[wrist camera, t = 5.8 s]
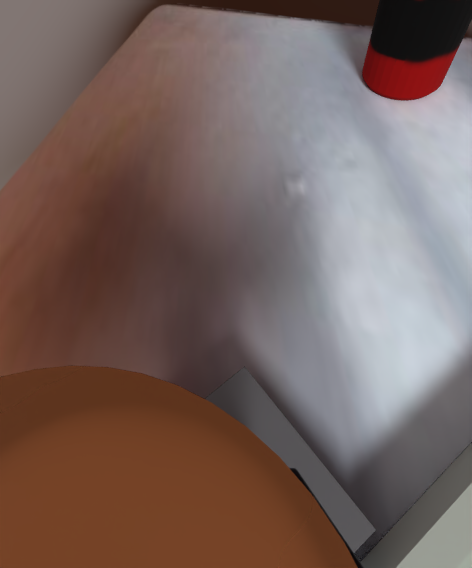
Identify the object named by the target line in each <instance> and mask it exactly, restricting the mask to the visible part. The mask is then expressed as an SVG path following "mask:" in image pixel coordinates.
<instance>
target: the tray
mask: <svg viewBox="0 0 472 568" xmlns="http://www.w3.org/2000/svg"><path fill="white" fill-rule="evenodd" d="M360 563H361V564H362V566H363V567H364V568H472V442H471V443H470V444H469V446H468V447H467V448H466V449H465V450H464V451H463V452H462V453H461V454H460V455H459V456H458V457H457V458H456V460H455V461H454V462H453V463H452V464H451V465H450V466H449V467H448V468H447V469H446V470H445V471H444V472H443V474H442V475H441V476H440V477H439V478H438V479H437V480H436V481H435V482H434V483H433V484H432V485H431V486H430V488H429V489H428V490H427V491H426V492H425V493H424V494H423V495H422V496H421V497H420V498H419V499H418V500H417V502H416V503H415V504H414V505H413V506H412V507H411V508H410V509H409V510H408V511H407V512H406V513H405V514H404V516H403V517H402V518H401V519H400V520H399V521H398V522H397V523H396V524H395V525H394V526H393V527H392V528H391V530H390V531H389V532H388V533H387V534H386V535H385V536H384V537H383V538H382V539H381V540H380V541H379V542H378V544H377V545H376V546H375V547H374V548H373V549H372V550H371V551H370V552H369V553H368V554H367V555H366V556H365V558H364V559H363V560H362V561H361V562H360Z"/></svg>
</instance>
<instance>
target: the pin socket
mask: <svg viewBox="0 0 472 568" xmlns="http://www.w3.org/2000/svg"><path fill="white" fill-rule="evenodd" d="M205 399H206V400H208V401H209V402H211V403H213V404H214V405H216V406H217V407H219V408H220V409H222V410H223V411H225V412H226V413H227V414H229V415H230V416H232V417H233V418H235V419H236V420H238V421H239V422H240V423H242V424H243V425H245V426H246V427H247V428H248V429H249V430H251V431H252V432H253V433H254V434H255V435H256V436H257V437H258V438H259V439H260V440H262V441H263V442H264V443H265V444H266V445H267V446H268V447H269V448H270V449H271V450H272V451H274V452H275V453H276V454H277V455H278V456H279V457H280V458H281V459H282V460H283V462H284V463H285V464H286V465H287V466H288V467H289V468H295V469H297V470H298V471H299V473H300V474H301V476H302V477H303V479H304V480H305V482H306V483H307V485H308V486H309V488H310V489H311V491H312V492H313V493H314V495H315V496H316V498H317V499H318V501H319V502H320V504H321V505H322V507H323V508H324V510H325V511H326V513H327V514H328V516H329V517H330V518H331V520H332V521H333V523H334V524H335V526H336V527H337V529H338V530H339V532H340V533H341V535H342V536H343V538H344V539H345V541H346V542H347V544H348V545H349V546H350V548H351V549H352V551H353V552H354V553H355V552H356V551H357V550H358V548H359V547H360V546H361V545H362V544H363V543H364V542H365V541H366V540H367V539H368V538H369V537H370V536H371V535H372V534H373V533H374V531H375V530H376V529H375V528H374V527H373V526H372V524H371V523H370V522H369V521H368V519H367V518H366V517H365V516H364V514H363V513H362V512H361V511H360V509H359V508H358V507H357V506H356V504H355V503H354V502H353V501H352V499H351V498H350V497H349V496H348V494H347V493H346V492H345V491H344V489H343V488H342V487H341V486H340V484H339V483H338V482H337V481H336V480H335V478H334V477H333V476H332V475H331V473H330V472H329V471H328V470H327V468H326V467H325V466H324V465H323V463H322V462H321V461H320V460H319V458H318V457H317V456H316V455H315V453H314V452H313V451H312V450H311V448H310V447H309V446H308V445H307V443H306V442H305V441H304V440H303V438H302V437H301V436H300V435H299V434H298V432H297V431H296V430H295V429H294V427H293V426H292V425H291V424H290V422H289V421H288V420H287V419H286V417H285V416H284V415H283V414H282V412H281V411H280V410H279V409H278V407H277V406H276V405H275V404H274V402H273V401H272V400H271V399H270V397H269V396H268V395H267V394H266V392H265V391H264V390H263V389H262V388H261V386H260V385H259V384H258V383H257V381H256V380H255V379H254V378H253V376H252V375H251V374H250V373H249V371H248V370H247V369H246V368H245V367H243V368H242V369H241V370H240V371H238V372H237V373H236V374H235V375H233V376H232V377H231V378H230V379H229V380H227V381H226V382H225V383H224V384H222V385H221V386H220V387H219V388H217V389H216V390H215V391H214V392H212V393H211V394H210V395H209V396H207V397H206V398H205Z"/></svg>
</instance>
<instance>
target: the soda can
mask: <svg viewBox="0 0 472 568" xmlns="http://www.w3.org/2000/svg"><path fill="white" fill-rule="evenodd" d="M471 20H472V0H380V1H379V5H378V9H377V14H376V18H375V22H374V26H373V30H372V34H371V38H370V42H369V46H368V50H367V54H366V58H365V62H364V66H363V70H362V75H363V78H364V80H365V82H366V84H367V85H368V87H369V88H370V89H371V90H372V91H374V92H375V93H377V94H378V95H381V96H383V97H386V98H389V99H394V100H415V99H419V98H422V97H425V96H427V95H429V94H430V93H432V92H434V91H435V90H437V89H438V88H439V87H440V86H441V84H442V82H443V80H444V78H445V76H446V73H447V71H448V69H449V67H450V65H451V63H452V61H453V58H454V56H455V54H456V52H457V50H458V48H459V46H460V43H461V41H462V39H463V37H464V35H465V33H466V31H467V29H468V26H469V24H470V22H471Z"/></svg>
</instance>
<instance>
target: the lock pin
mask: <svg viewBox="0 0 472 568" xmlns="http://www.w3.org/2000/svg"><path fill="white" fill-rule="evenodd" d="M0 568H358V567H357V565H356V564H355V562H354V560H353V558H352V556H351V554H350V552H349V550H348V548H347V547H346V545H345V543H344V541H343V540H342V538H341V537H340V535H339V534H338V532H337V531H336V530H335V528H334V527H333V525H332V524H331V522H330V521H329V519H328V518H327V516H326V515H325V513H324V512H323V510H322V509H321V507H320V506H319V504H318V503H317V501H316V500H315V498H314V497H313V495H312V494H311V493H310V492H309V491H308V490H307V488H306V487H305V486H304V485H303V484H302V483H301V481H300V480H299V479H298V478H297V477H296V476H295V474H294V473H293V472H292V471H291V470H290V469H289V467H288V466H287V465H286V464H285V463H284V462H283V460H282V459H281V458H280V457H279V456H278V455H277V454H276V453H275V452H274V451H272V450H271V449H270V448H269V447H268V446H267V445H266V444H265V443H264V442H263V441H262V440H260V439H259V438H258V437H257V436H256V435H255V434H254V433H253V432H252V431H251V430H249V429H248V428H247V427H246V426H245V425H243V424H242V423H240V422H239V421H238V420H236V419H235V418H233V417H232V416H230V415H229V414H227V413H226V412H225V411H223V410H222V409H220V408H219V407H217V406H216V405H214V404H213V403H211V402H209V401H208V400H206V399H204V398H202V397H200V396H198V395H196V394H194V393H192V392H190V391H188V390H186V389H184V388H182V387H180V386H178V385H175V384H172V383H169V382H166V381H163V380H160V379H157V378H154V377H151V376H148V375H145V374H142V373H136V372H131V371H125V370H120V369H114V368H109V367H90V366H64V367H53V368H43V369H34V370H29V371H25V372H21V373H16V374H12V375H7V376H3V377H0Z"/></svg>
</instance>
